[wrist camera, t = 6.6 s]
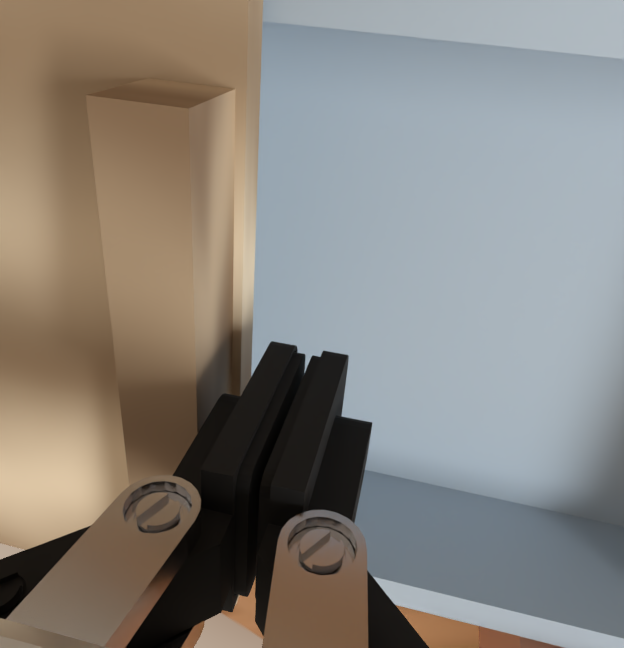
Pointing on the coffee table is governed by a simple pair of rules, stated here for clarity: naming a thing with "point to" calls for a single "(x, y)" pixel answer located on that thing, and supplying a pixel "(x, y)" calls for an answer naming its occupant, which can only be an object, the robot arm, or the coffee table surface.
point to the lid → (120, 243)
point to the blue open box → (460, 289)
